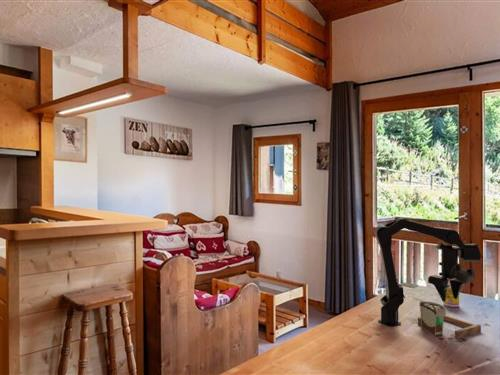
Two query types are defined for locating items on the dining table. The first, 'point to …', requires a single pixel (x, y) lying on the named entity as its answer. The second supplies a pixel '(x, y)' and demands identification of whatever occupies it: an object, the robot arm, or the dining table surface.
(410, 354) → the dining table surface
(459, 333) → the bay
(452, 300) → the supplement bottle
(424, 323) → the food container
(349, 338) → the dining table surface
